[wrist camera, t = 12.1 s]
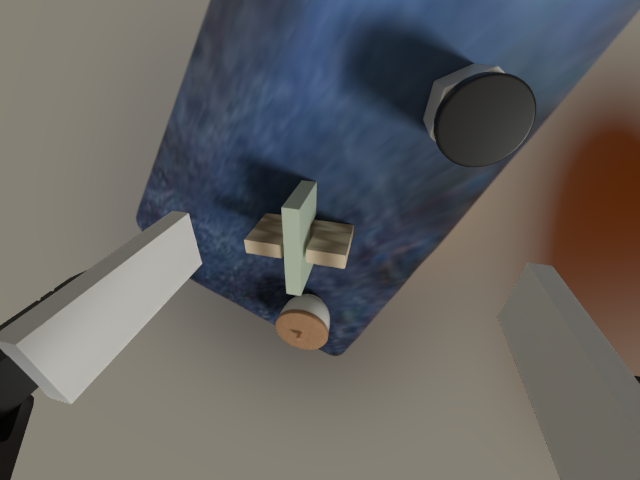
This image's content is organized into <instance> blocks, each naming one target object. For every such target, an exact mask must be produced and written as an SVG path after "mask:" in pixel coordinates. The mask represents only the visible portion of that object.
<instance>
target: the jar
mask: <svg viewBox="0 0 640 480" xmlns="http://www.w3.org/2000/svg"><path fill="white" fill-rule="evenodd" d="M535 116H536V101H535V97H534V94H533V92H532V90H531V89H530V87H529V86H528V85H527V84H526V83H525V82H524V81H523V80H522V79H520V78H518V77H516V76H514V75H511V74H506V73H505V72H504V71H503V70H502V69H501V68H500V67H499V66H493V65H484V64H472V65H469V66H467V67H465V68H462V69H460V70H458V71H456V72H453V73H451V74H449V75H447V76H444V77H442V78H440V79H437V80H435V81H434V82H433V86H432V89H431V93H430V96H429V100H428V104H427V107H426V111H425V114H424V118H423V121H424V124H425V126H426V128H427V131H428V133H429V136H430V137H431V138H432V139H433V140H434V141H435V142H436V143H437V146H438V147H439V149H440V151H441V152H442V153H443V154H444V155H445V156H446V157H447V158H448V159H449V160H451V161H452V162H454V163H456V164H458V165H461V166H465V167H483V166H488V165H491V164H494V163H496V162H499V161H501V160H503V159H504V158H506V157H507V156H509V155H510V154H512V153H513V152H514V151H515V150H516V149H517V148H518V147H519V146H520V145H521V144H522V143H523V142H524V141H525V139H526V138H527V136H528V135H529V133H530V131H531V129H532V127H533V124H534V121H535Z"/></svg>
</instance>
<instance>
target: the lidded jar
mask: <svg viewBox="0 0 640 480" xmlns="http://www.w3.org/2000/svg"><path fill="white" fill-rule="evenodd" d="M275 327H276V331H277V333H278V334H279V336H280V337H281V338H282V339H283V340H284V341H286V342H287V343H288V344H290V345H292V346H294V347H297V348H301V349H308V350H309V349H317V348H320V347H322V346H323V345H324V344H325V343H326V341H327V339H328V332H329V327H330V315H329V311H328V309H327V307H326V305H325V304H324V303H323V301H322V300H321V299H320V298H319V297H317V296H315V295H313V294H303V295H301V296H296V297H294V298H292V299H291V300H290V301H289V302H288V303H287V304H286V305H285V306H284V308H283V309H282V311H281V313H280V315H279V317H278V318H277V320H276V324H275Z"/></svg>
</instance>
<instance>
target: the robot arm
mask: <svg viewBox="0 0 640 480" xmlns="http://www.w3.org/2000/svg"><path fill="white" fill-rule="evenodd" d="M201 264H202V262H201V258H200V254H199V251H198V247H197V243H196V239H195V236H194V232H193V228H192V224H191V221H190V217H189V213H184V212H177V211H172V212H170V213H169V214H167V215H166V216H165V217H163V218H162V219H160V220H159V221H157V222H156V223H154V224H153V225H152V226H150V227H149V228H147V229H146V230H144V231H143V232H142V233H140V234H139V235H137V236H136V237H134V238H133V239H131V240H130V241H129V242H127V243H126V244H124V245H123V246H121V247H120V248H119V249H117V250H116V251H114V252H113V253H111V254H110V255H108V256H107V257H106V258H104V259H103V260H102V261H100V262H98V263H97V264H96V265H94V266H93V267H91V268H90V269H88V270H86V271H84V272H82V273H80V274H78V275H75V276H73V277H71V278H69V279H68V280H66V281H65V282H63V283H62V284H60V285H59V286H58V287H56V288H55V289H54V291H50V292H49V293H47V294H46V295H44V296H43V297H41V300H40V301H36V302H34V303H33V304H31V305H30V306H28V307H27V308H25V309H24V310H22V311H21V312H20V313H18V314H16V315H15V316H14V317H12V318H11V319H9V320H8V321H6V322H5V323H3V324H2V325H0V480H10V479H11V476H12V472H13V469H14V466H15V463H16V459H17V456H18V453H19V450H20V446H21V443H22V440H23V437H24V434H25V430H26V427H27V424H28V421H29V417H30V414H31V411H32V408H33V402H34V397H33V396H32V395H31V393H32V392H33V391H34V390H36V389H37V388H38V387H39V388H40V389H41V390H42V391H43V392H44V393H45V394H46V395H47V396H48V397H50V398H52V399H55V400H59V401H62V402H65V403H69V404H72V403H73V402H74V401H75V400H76V398H78V396H79V395H80V394H81V393H82V392H83V391H84V390H85V389H86V388H87V387H88V386H89V384H91V382H92V381H93V380H94V379H95V378H96V377H97V376H98V375H99V374H100V373H101V372H102V371H103V370H104V368H105V367H106V366H107V365H108V364H109V363H110V362H111V361H112V360H113V359H114V358H115V357H116V356H117V355H118V353H119V352H120V351H121V350H122V349H123V348H124V347H125V346H126V345H127V344H128V343H129V341H131V339H132V338H133V337H134V336H135V335H136V334H137V333H138V332H139V331H140V330H141V329H142V328H143V327H144V326H145V324H146V323H147V322H148V321H149V320H150V319H151V318H152V317H153V316H154V315H155V314H156V313H157V312H158V311H159V309H160V308H161V307H162V306H163V305H164V304H165V303H166V302H167V301H168V299H170V298H171V297H172V296H173V294H174V293H175V292H176V291H177V290H178V289H179V288H180V287H181V286H182V285H183V284H184V283H185V281H186V280H187V279H188V278H189V277H190V276H191V275H192V274H193V273H194V272H195V271H196V270H197V269H198V268H199V267H200V265H201ZM497 317H498V319H499V322H500V325H501V327H502V330H503V333H504V335H505V338H506V340H507V343H508V346H509V348H510V351H511V353H512V356H513V359H514V361H515V364H516V366H517V369H518V371H519V374H520V376H521V379H522V382H523V384H524V387H525V389H526V392H527V394H528V397H529V400H530V402H531V405H532V408H533V410H534V413H535V415H536V418H537V420H538V423H539V426H540V428H541V431H542V433H543V436H544V438H545V441H546V444H547V446H548V449H549V451H550V454H551V457H552V459H553V462H554V464H555V467H556V469H557V472H558V474H559V477H560V480H640V377H638V376H634V375H633V374H632V373H631V372H630V370H629V369H628V367H627V366H626V365H625V363H624V362H623V361H622V359H621V358H620V357H619V355H618V354H617V353H616V351H615V350H614V349H613V347H612V346H611V345H610V343H609V342H608V340H607V339H606V338H605V336H604V335H603V334H602V333H601V331H600V330H599V328H598V327H597V326H596V324H595V323H594V322H593V320H592V319H591V318H590V316H589V315H588V313H587V312H586V311H585V309H584V308H583V307H582V305H581V304H580V303H579V301H578V300H577V299H576V297H575V296H574V295H573V293H572V292H571V291H570V289H569V288H568V287H567V285H566V284H565V282H564V281H563V280H562V278H561V277H560V276H559V275H558V273H557V272H556V270H555V269H554V268H553V266H548V265H541V264H534V263H527V265H526V266H525V268H524V270H523V272H522V274H521V275H520V277H519V279H518V281H517V282H516V284H515V286H514V288H513V289H512V291H511V293H510V295H509V296H508V298H507V300H506V302H505V304H504V305H503V307H502V309H501V311H500V312H499V314H498V316H497Z"/></svg>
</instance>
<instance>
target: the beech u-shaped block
mask: <svg viewBox="0 0 640 480" xmlns="http://www.w3.org/2000/svg"><path fill="white" fill-rule="evenodd" d="M353 227H354V225H349V224H342V223H335V222H328V221H320V220H313V222H312V224H311V225H310V242H309V245H308V247H307V249H306V263H312V264H318V265H324V266H330V267H336V268H342V269H345V266H346V262H347V257H348V253H349V249H350V245H351V241H352V236H353ZM244 242H245V249H246V253H252V254H258V255H264V256H270V257H276V258H282V257H283V255H284V245H283V228H282V215H277V214H270V213H266V214H265V215H264V216H263V217H262V219H261V220H260V221H259V222H258V223H257V225H256V226H255V227H254V228H253V230H252V231H251V232H250V233H249V234H248V236H247V237H246V238H245V239H244Z"/></svg>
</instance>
